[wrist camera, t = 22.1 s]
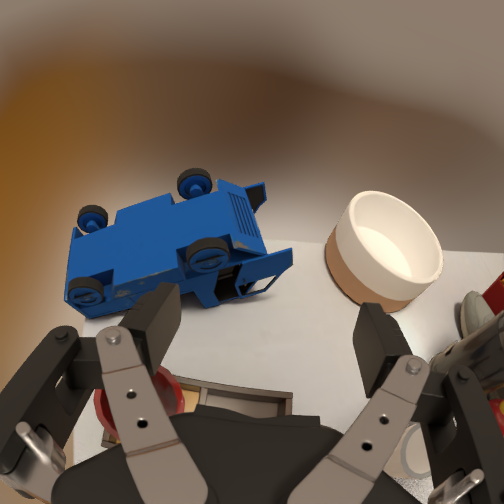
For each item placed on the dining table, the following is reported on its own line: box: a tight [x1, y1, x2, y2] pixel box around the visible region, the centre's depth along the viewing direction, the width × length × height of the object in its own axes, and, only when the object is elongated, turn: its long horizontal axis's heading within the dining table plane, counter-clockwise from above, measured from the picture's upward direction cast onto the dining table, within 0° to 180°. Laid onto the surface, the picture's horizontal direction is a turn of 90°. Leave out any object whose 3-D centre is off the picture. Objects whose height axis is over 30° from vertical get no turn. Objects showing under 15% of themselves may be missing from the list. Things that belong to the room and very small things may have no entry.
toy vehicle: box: [64, 168, 293, 319], centre depth 34 cm, size 25×12×12 cm, turn 105°
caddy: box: [101, 375, 293, 449], centre depth 25 cm, size 9×18×4 cm, turn 85°
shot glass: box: [383, 423, 431, 479], centre depth 24 cm, size 7×7×7 cm
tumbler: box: [94, 365, 186, 441], centre depth 21 cm, size 6×6×12 cm
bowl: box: [326, 191, 443, 313], centre depth 42 cm, size 17×17×8 cm
